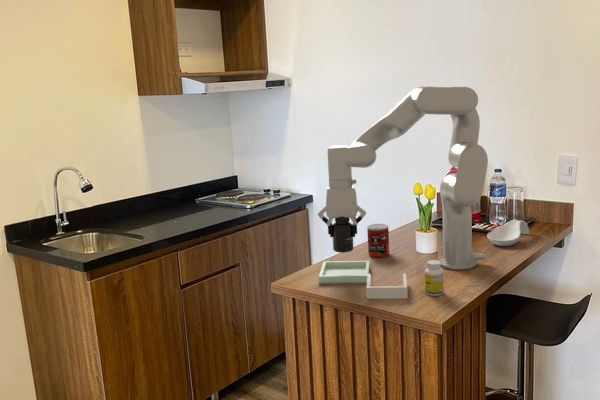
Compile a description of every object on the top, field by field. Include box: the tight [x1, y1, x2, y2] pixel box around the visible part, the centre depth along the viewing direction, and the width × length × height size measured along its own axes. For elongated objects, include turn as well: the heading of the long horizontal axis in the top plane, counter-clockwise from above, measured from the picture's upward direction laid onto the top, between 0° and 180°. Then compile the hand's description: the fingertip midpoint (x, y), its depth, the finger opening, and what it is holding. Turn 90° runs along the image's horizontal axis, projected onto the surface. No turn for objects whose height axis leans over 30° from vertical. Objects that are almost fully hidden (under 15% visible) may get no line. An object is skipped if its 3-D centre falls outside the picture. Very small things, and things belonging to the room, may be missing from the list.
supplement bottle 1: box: [332, 217, 354, 254], centre depth 192 cm, size 7×7×12 cm
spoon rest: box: [486, 219, 530, 247], centre depth 222 cm, size 24×12×7 cm, turn 136°
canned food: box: [366, 223, 390, 259], centre depth 215 cm, size 8×8×11 cm
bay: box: [365, 272, 409, 300], centre depth 178 cm, size 12×12×4 cm
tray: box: [318, 260, 371, 285], centre depth 195 cm, size 16×16×2 cm
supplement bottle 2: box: [424, 259, 445, 297], centre depth 173 cm, size 5×5×10 cm
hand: (342, 235), depth 192 cm, fingers closed on supplement bottle 1, 6 cm apart
